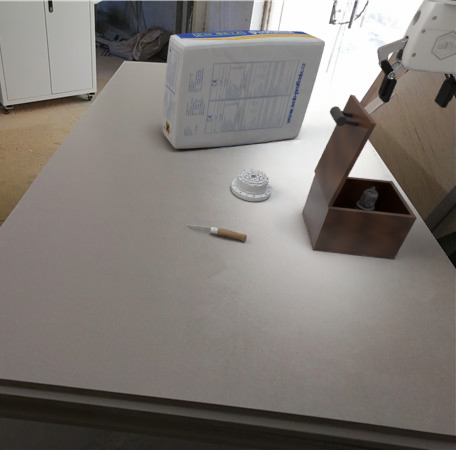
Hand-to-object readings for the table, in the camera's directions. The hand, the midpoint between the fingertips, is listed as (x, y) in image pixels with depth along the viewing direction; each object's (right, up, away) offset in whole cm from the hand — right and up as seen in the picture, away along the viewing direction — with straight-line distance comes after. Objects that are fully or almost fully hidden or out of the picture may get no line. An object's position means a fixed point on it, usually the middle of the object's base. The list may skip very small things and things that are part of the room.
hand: (411, 102), depth 71 cm
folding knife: (-32, -24, +16) cm, 44 cm away
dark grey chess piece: (-1, -23, +18) cm, 30 cm away
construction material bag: (-22, +5, +55) cm, 59 cm away
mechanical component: (-21, -13, +31) cm, 40 cm away
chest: (-3, -24, +19) cm, 30 cm away
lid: (-9, -7, +7) cm, 13 cm away
